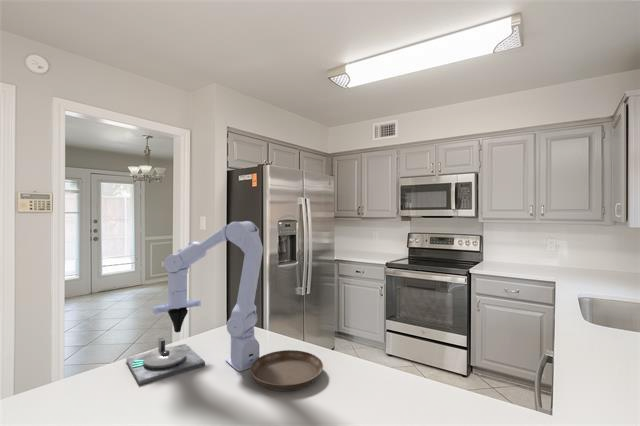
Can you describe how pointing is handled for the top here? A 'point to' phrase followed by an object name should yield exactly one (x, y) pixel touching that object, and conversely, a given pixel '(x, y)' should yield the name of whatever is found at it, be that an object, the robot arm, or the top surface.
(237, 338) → the robot arm
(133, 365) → the panel
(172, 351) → the dial
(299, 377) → the plant saucer
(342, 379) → the top surface
